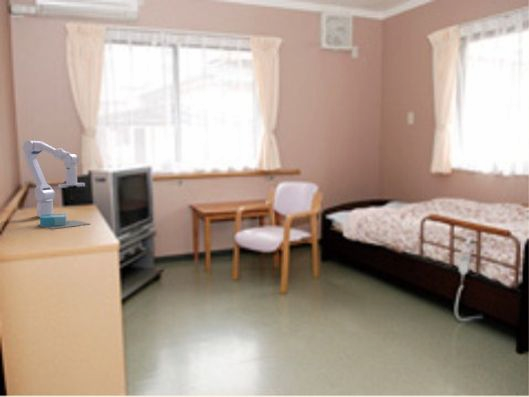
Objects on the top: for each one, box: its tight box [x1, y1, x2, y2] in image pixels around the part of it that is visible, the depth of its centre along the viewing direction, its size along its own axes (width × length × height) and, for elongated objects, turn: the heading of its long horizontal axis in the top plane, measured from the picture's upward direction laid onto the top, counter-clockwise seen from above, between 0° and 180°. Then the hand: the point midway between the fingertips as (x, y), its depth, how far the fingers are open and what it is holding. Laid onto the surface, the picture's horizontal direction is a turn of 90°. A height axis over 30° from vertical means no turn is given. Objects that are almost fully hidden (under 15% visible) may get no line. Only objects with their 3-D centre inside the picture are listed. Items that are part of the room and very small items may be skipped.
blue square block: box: [39, 213, 67, 228], centre depth 240 cm, size 12×4×12 cm
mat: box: [37, 219, 91, 230], centre depth 241 cm, size 16×20×1 cm
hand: (72, 199), depth 262 cm, fingers closed
